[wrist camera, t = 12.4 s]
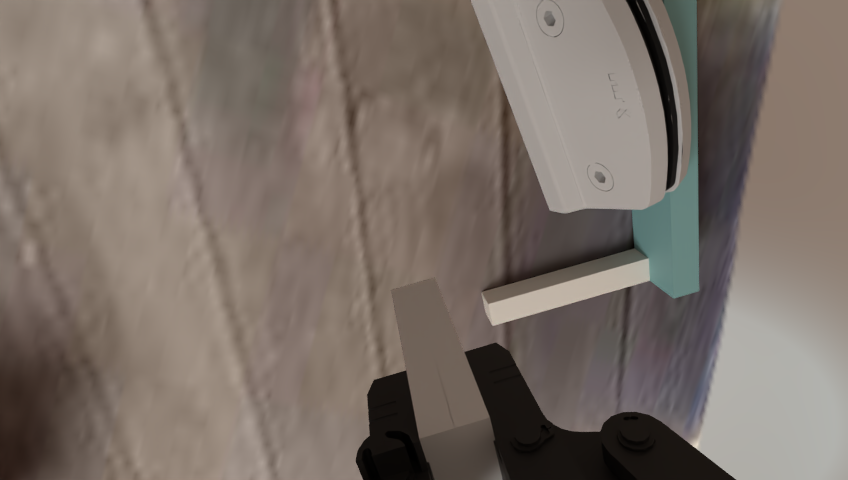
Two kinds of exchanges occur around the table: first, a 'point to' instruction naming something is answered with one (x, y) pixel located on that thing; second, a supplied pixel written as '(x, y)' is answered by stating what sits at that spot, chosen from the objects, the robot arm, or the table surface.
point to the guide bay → (653, 228)
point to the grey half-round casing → (594, 97)
